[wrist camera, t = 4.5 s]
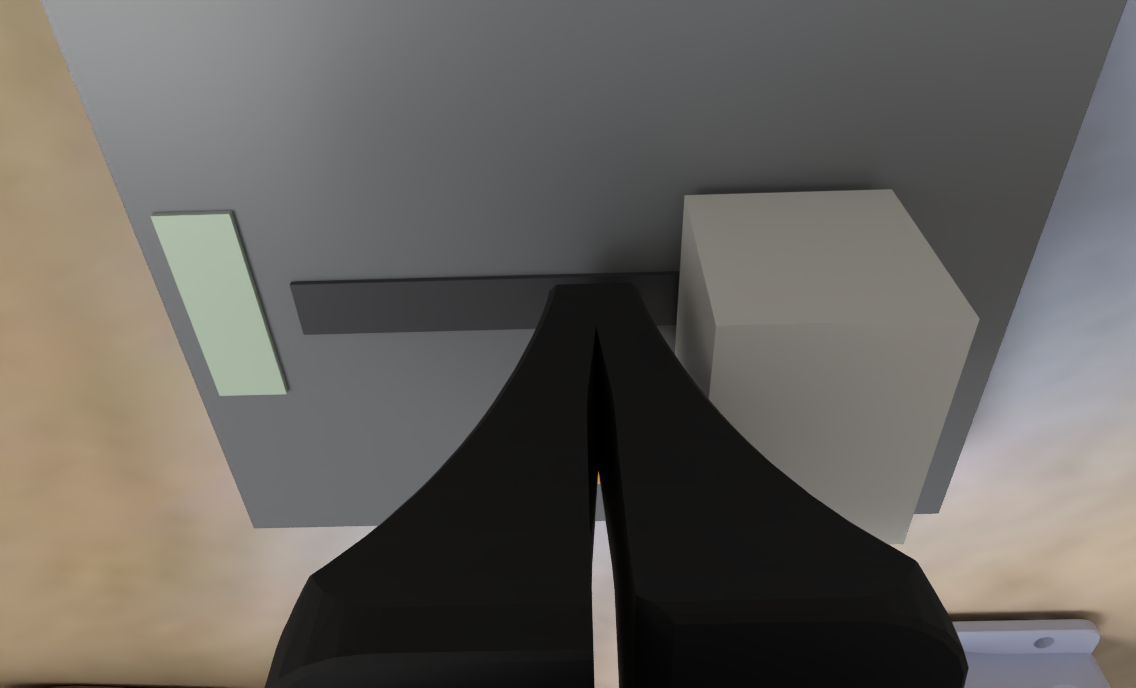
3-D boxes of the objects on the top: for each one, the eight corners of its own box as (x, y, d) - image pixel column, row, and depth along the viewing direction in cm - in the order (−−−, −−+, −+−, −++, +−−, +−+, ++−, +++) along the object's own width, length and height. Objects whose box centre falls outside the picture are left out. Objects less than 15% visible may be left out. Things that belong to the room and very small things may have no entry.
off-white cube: (891, 189, 12) (979, 318, 9) (843, 396, 14) (903, 544, 12) (684, 194, 12) (716, 325, 9) (671, 401, 14) (693, 548, 12)
